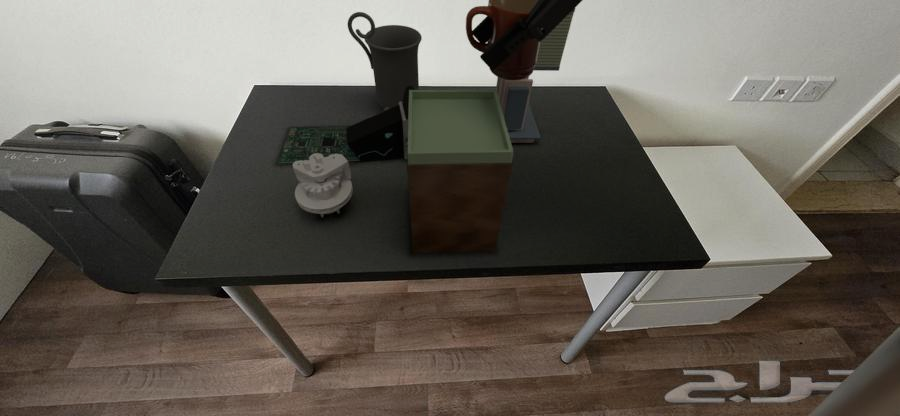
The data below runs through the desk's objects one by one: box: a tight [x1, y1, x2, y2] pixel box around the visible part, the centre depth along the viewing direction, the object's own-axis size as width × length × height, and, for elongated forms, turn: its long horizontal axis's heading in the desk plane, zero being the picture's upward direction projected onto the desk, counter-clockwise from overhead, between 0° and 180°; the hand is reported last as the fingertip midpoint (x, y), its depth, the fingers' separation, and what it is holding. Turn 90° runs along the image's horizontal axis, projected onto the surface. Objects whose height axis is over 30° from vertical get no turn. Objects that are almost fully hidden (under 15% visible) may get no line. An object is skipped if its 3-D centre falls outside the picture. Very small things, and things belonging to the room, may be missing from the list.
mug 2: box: [465, 0, 543, 80], centre depth 55 cm, size 12×9×10 cm
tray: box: [408, 89, 515, 165], centre depth 59 cm, size 15×17×2 cm
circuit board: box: [278, 125, 361, 164], centre depth 90 cm, size 14×20×1 cm
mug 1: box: [347, 11, 423, 112], centre depth 93 cm, size 19×15×25 cm
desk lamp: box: [486, 0, 576, 144], centre depth 86 cm, size 18×14×33 cm
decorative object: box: [346, 86, 415, 162], centre depth 83 cm, size 8×18×15 cm, turn 102°
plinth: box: [406, 103, 514, 255], centre depth 67 cm, size 16×18×22 cm
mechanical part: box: [292, 153, 354, 218], centre depth 72 cm, size 11×12×12 cm
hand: (481, 50), depth 55 cm, fingers closed on mug 2, 8 cm apart
